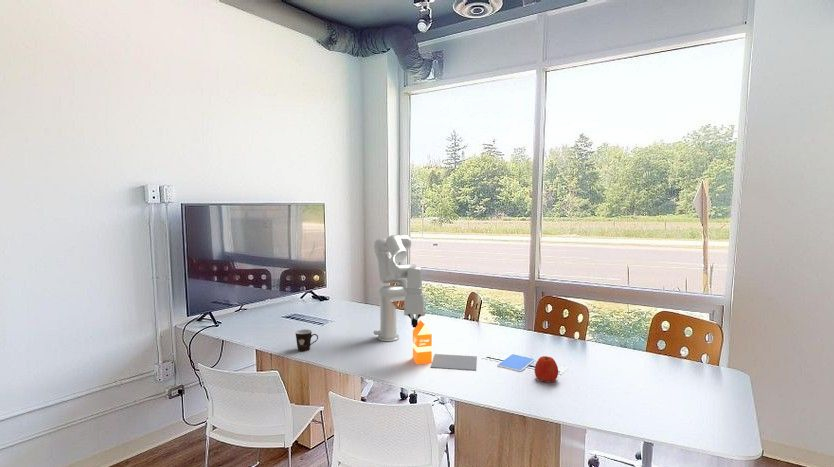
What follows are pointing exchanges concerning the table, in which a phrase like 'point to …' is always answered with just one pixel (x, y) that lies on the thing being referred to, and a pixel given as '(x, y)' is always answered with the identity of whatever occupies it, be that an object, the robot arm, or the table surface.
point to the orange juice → (422, 344)
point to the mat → (454, 362)
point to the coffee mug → (304, 339)
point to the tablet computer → (516, 362)
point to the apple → (546, 369)
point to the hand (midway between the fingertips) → (414, 326)
